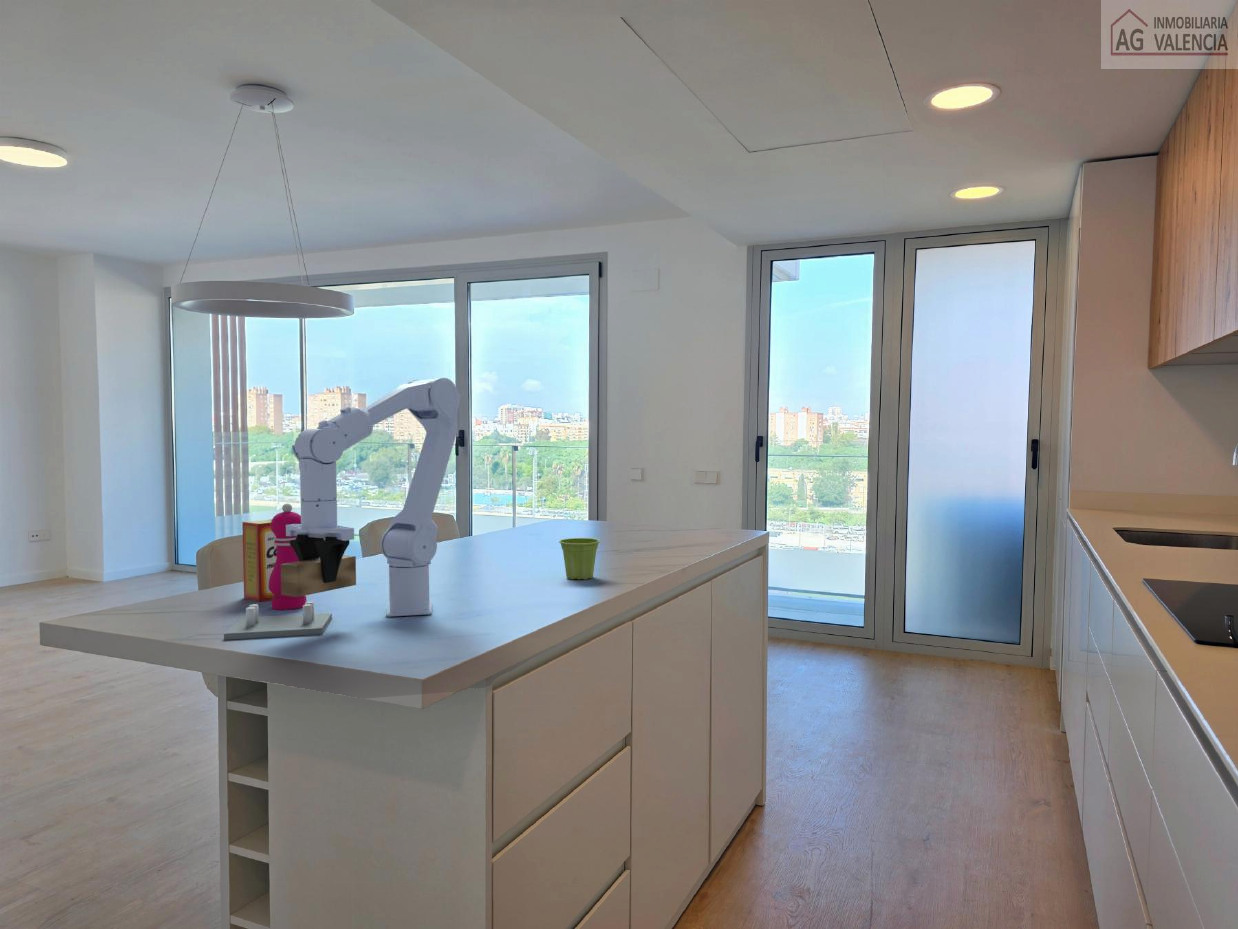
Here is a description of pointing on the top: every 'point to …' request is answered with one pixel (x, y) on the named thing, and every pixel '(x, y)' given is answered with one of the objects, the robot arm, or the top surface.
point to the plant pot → (579, 557)
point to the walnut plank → (315, 577)
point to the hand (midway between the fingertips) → (320, 580)
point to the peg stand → (278, 624)
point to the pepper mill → (284, 559)
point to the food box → (258, 559)
